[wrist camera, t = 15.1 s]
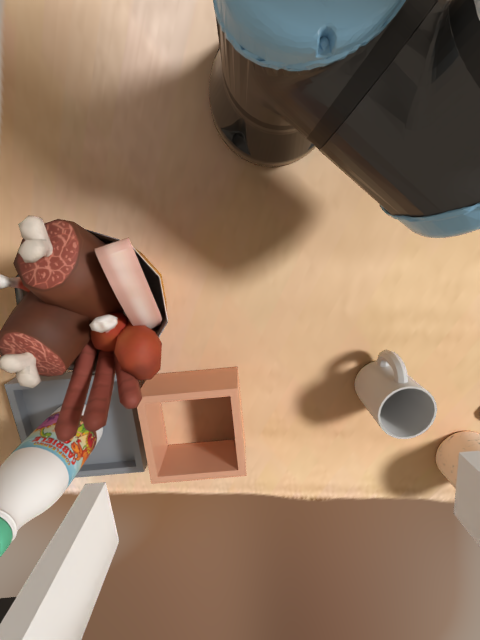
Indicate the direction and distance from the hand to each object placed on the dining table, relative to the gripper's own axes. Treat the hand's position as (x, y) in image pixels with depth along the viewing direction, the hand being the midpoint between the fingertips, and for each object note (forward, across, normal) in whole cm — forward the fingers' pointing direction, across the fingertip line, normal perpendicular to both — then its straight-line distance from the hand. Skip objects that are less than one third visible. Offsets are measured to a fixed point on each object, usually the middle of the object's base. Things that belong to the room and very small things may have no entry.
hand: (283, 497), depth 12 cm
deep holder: (+35, -9, -16) cm, 39 cm away
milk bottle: (+34, -27, -16) cm, 46 cm away
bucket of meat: (+35, -17, +3) cm, 39 cm away
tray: (+35, -26, -16) cm, 46 cm away
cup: (+35, +18, -12) cm, 41 cm away
